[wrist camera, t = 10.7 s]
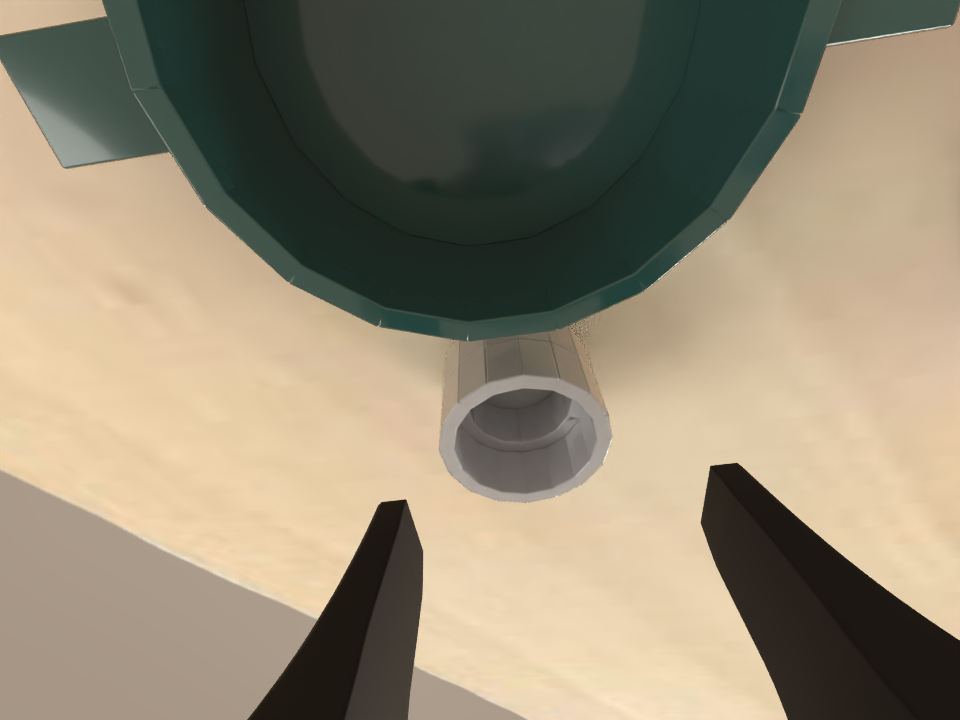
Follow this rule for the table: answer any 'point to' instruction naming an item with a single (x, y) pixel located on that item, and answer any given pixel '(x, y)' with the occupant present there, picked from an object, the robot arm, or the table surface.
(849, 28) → the pan
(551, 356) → the cup
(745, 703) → the table surface
